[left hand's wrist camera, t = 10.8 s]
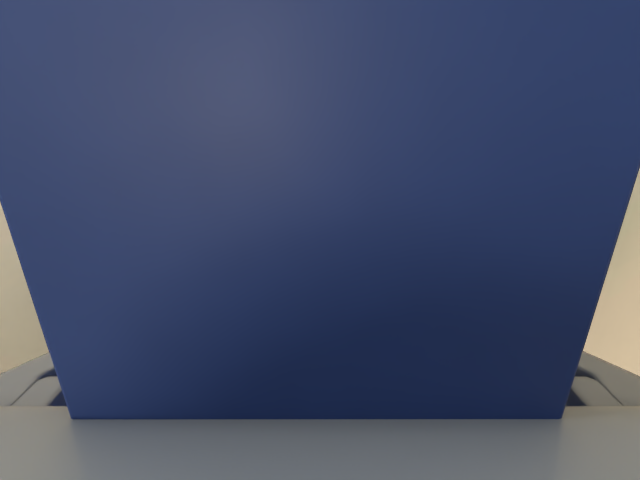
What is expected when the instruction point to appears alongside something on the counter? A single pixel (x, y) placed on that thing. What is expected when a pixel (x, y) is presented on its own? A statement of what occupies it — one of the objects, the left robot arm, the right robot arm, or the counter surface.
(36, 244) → the box
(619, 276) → the counter surface
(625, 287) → the counter surface
